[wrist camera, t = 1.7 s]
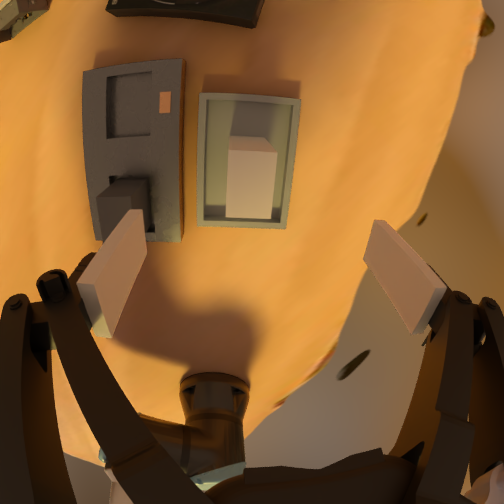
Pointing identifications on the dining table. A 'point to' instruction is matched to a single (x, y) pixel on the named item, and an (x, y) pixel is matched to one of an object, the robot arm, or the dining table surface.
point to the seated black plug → (123, 203)
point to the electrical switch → (18, 16)
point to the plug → (250, 177)
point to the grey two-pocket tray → (137, 137)
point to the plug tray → (217, 145)
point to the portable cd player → (192, 10)
